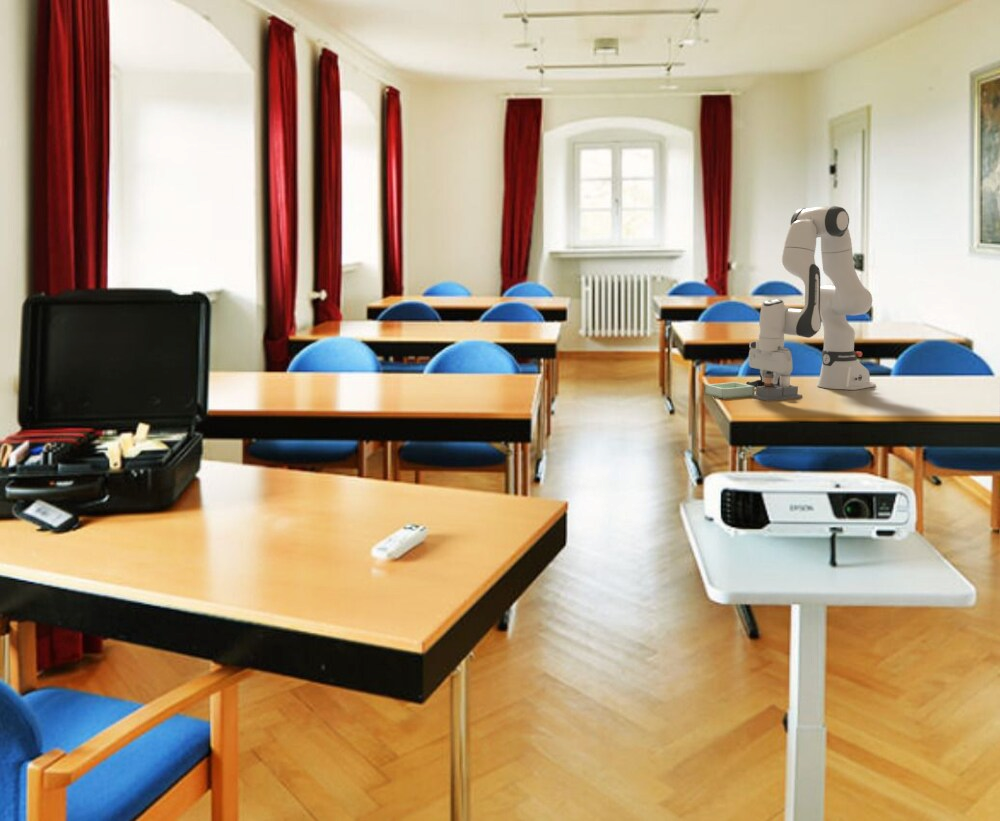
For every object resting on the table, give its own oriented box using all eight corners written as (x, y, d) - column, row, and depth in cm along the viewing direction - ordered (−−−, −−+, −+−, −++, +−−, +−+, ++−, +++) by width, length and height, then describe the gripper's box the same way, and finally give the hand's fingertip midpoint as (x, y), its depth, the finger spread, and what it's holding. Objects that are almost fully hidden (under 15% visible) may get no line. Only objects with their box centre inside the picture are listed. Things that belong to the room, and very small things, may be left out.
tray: (735, 391, 385) (735, 382, 385) (754, 395, 376) (754, 386, 375) (705, 394, 380) (705, 384, 379) (723, 398, 370) (723, 389, 369)
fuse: (784, 392, 376) (785, 371, 374) (791, 394, 372) (792, 372, 371) (776, 393, 374) (777, 372, 373) (783, 395, 371) (784, 373, 369)
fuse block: (785, 393, 379) (786, 383, 378) (802, 397, 371) (802, 386, 370) (751, 397, 373) (751, 386, 372) (767, 401, 365) (767, 390, 364)
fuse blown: (769, 394, 373) (770, 372, 371) (776, 395, 369) (777, 374, 368) (761, 395, 371) (762, 373, 370) (768, 396, 368) (769, 374, 366)
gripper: (797, 347, 359) (796, 386, 361) (760, 341, 377) (758, 378, 380) (783, 348, 356) (781, 387, 359) (746, 342, 374) (744, 379, 377)
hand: (769, 383), depth 369 cm, fingers closed on fuse blown, 4 cm apart
